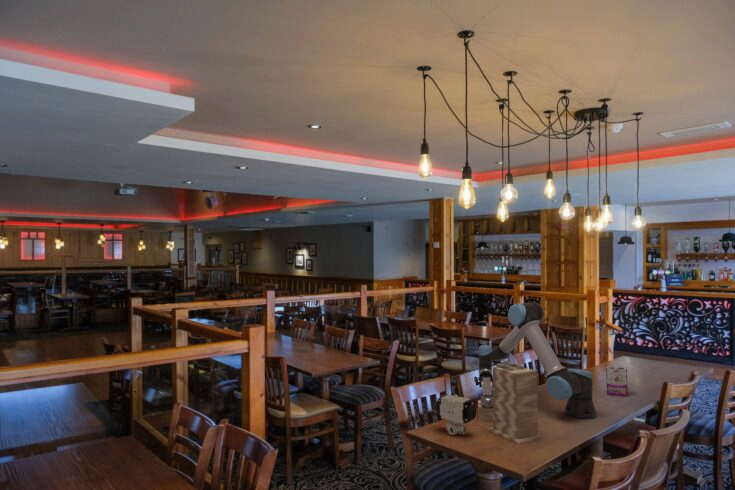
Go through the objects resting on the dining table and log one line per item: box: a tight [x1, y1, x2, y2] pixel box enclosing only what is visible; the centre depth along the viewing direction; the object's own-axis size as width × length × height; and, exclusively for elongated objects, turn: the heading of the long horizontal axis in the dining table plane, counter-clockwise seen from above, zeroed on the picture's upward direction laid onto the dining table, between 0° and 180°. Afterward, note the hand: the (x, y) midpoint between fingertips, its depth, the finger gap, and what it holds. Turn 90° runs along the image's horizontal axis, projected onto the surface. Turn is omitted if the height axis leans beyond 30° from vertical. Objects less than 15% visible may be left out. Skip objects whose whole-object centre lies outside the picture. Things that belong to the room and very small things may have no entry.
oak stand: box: [488, 361, 544, 445], centre depth 233 cm, size 19×15×32 cm
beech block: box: [477, 399, 493, 423], centre depth 258 cm, size 14×10×6 cm
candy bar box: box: [605, 365, 629, 397], centre depth 297 cm, size 11×5×16 cm, turn 68°
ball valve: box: [435, 393, 478, 436], centre depth 234 cm, size 18×8×18 cm, turn 50°
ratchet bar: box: [480, 377, 493, 408], centre depth 264 cm, size 28×7×4 cm, turn 168°
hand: (487, 387), depth 266 cm, fingers closed on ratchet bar, 4 cm apart
